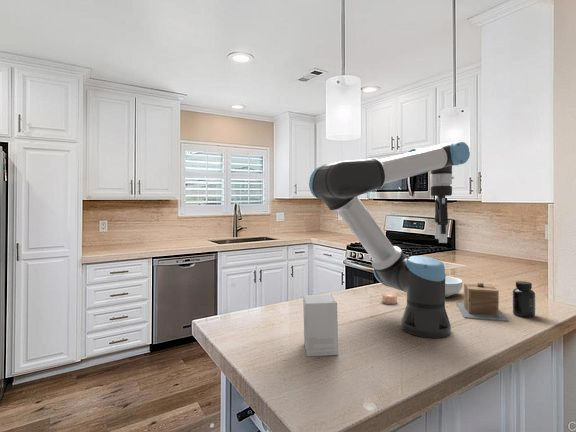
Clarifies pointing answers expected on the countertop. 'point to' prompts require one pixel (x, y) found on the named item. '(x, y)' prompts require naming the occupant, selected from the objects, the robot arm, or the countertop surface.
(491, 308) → the walnut cover
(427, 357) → the countertop surface
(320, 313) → the supplement box
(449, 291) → the cereal bowl
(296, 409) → the countertop surface
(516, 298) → the supplement bottle
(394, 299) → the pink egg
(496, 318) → the slate mat
